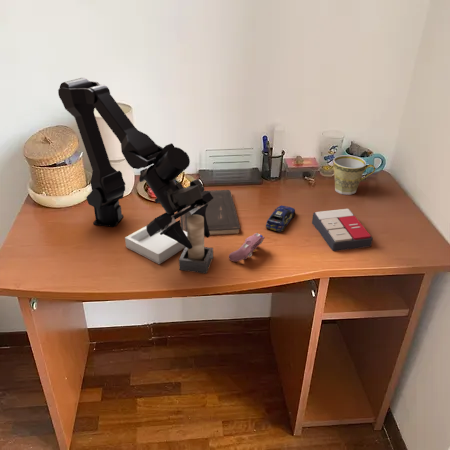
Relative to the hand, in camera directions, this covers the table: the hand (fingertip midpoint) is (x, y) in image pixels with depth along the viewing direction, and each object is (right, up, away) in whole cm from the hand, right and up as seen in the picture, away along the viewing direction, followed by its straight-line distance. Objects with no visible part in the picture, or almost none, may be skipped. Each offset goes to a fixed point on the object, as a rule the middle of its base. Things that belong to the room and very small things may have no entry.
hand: (200, 242), depth 118 cm
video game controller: (+12, -4, +8) cm, 15 cm away
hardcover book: (+1, +7, +26) cm, 27 cm away
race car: (+22, +5, +23) cm, 32 cm away
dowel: (-1, -5, +4) cm, 7 cm away
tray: (-11, -1, +11) cm, 16 cm away
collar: (-1, -5, +4) cm, 7 cm away
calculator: (+38, +1, +17) cm, 41 cm away
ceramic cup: (+46, +15, +39) cm, 62 cm away
